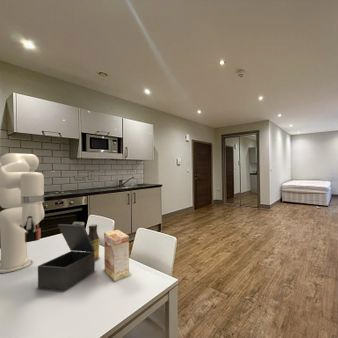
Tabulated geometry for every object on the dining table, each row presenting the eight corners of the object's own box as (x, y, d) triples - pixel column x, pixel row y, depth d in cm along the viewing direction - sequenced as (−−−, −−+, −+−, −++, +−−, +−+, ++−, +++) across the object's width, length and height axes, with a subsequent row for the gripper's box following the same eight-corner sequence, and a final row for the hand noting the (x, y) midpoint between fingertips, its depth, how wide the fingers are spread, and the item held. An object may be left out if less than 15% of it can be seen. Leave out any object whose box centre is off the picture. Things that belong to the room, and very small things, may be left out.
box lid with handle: (82, 226, 90) (90, 219, 95) (57, 225, 92) (66, 218, 97) (94, 252, 97) (101, 244, 101) (70, 250, 99) (78, 243, 103)
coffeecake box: (103, 270, 98) (103, 232, 98) (118, 264, 104) (118, 229, 104) (113, 281, 88) (113, 239, 88) (129, 275, 93) (129, 235, 93)
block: (24, 242, 84) (24, 232, 84) (27, 239, 88) (27, 229, 88) (38, 240, 87) (38, 230, 87) (40, 237, 90) (40, 228, 90)
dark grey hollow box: (64, 291, 82) (64, 268, 82) (37, 288, 84) (37, 266, 84) (94, 271, 97) (94, 252, 97) (71, 269, 99) (71, 250, 99)
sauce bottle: (92, 263, 106) (91, 227, 106) (82, 262, 107) (82, 226, 107) (101, 257, 112) (101, 223, 112) (93, 256, 114) (92, 223, 114)
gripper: (26, 198, 92) (26, 235, 92) (14, 203, 78) (14, 247, 78) (47, 196, 96) (47, 232, 96) (39, 201, 82) (39, 243, 82)
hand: (32, 239), depth 87 cm, fingers closed on block, 4 cm apart
